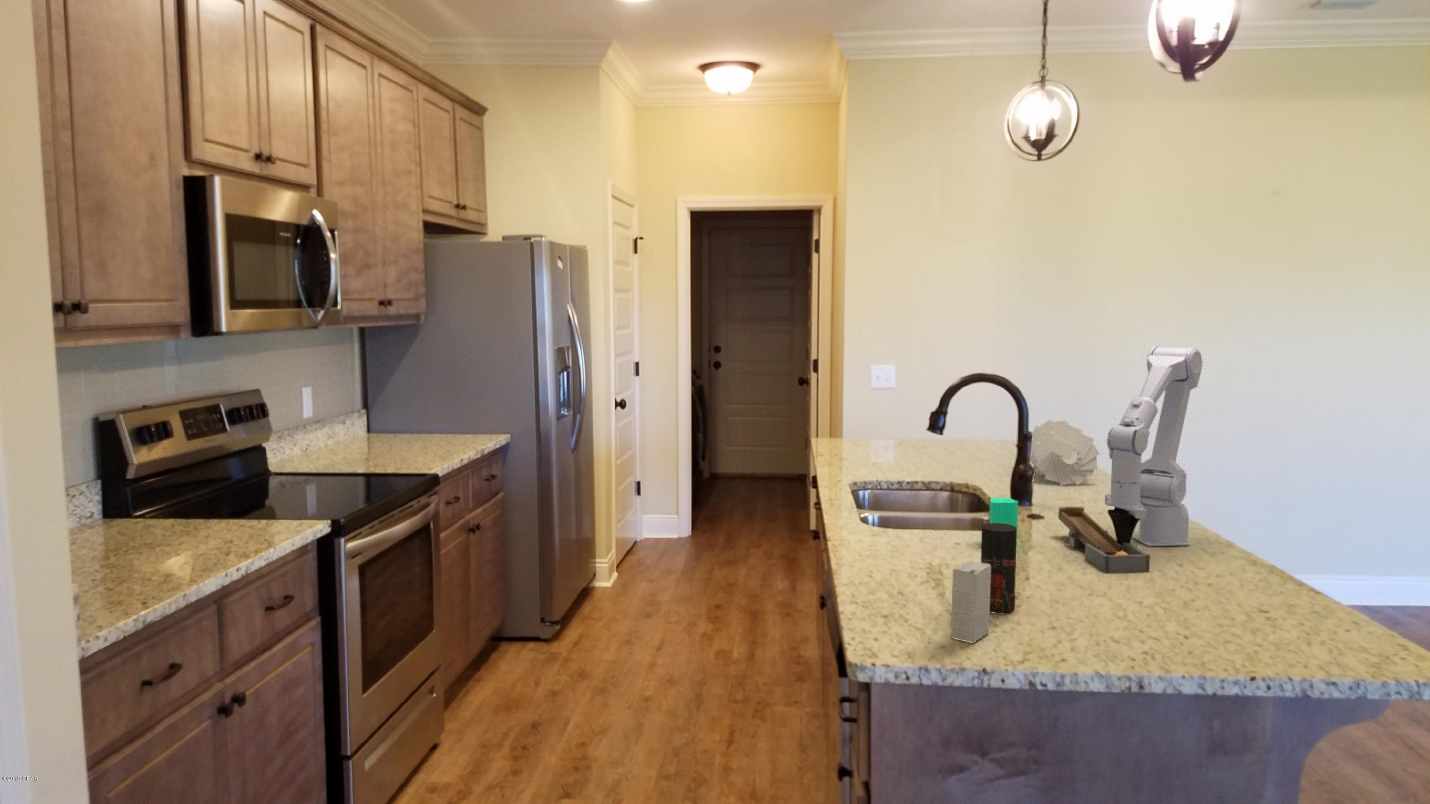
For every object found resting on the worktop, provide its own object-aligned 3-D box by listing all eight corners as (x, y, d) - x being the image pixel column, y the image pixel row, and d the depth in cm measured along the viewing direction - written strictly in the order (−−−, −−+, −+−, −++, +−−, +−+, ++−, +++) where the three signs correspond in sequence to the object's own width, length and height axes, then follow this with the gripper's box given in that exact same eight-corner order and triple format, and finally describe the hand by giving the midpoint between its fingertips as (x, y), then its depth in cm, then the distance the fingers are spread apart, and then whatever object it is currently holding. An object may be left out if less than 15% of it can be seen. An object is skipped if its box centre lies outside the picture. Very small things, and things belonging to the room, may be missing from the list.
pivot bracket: (1102, 544, 202) (1103, 527, 202) (1111, 549, 198) (1112, 532, 197) (1064, 545, 202) (1065, 528, 201) (1073, 550, 198) (1073, 533, 197)
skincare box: (965, 628, 153) (966, 559, 151) (990, 634, 150) (992, 563, 149) (949, 639, 148) (950, 567, 147) (975, 645, 145) (976, 572, 144)
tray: (1126, 557, 191) (1127, 542, 191) (1149, 571, 182) (1149, 555, 182) (1084, 558, 191) (1085, 543, 191) (1105, 572, 182) (1105, 556, 181)
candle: (1018, 549, 199) (1019, 496, 197) (990, 548, 200) (991, 495, 199) (1015, 542, 205) (1016, 490, 203) (987, 541, 206) (988, 490, 204)
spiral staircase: (1063, 484, 284) (1085, 498, 259) (1011, 460, 285) (1028, 471, 261) (1090, 432, 282) (1115, 441, 257) (1037, 408, 283) (1057, 415, 258)
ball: (1131, 550, 183) (1134, 566, 182) (1124, 552, 186) (1127, 567, 185) (1116, 550, 183) (1118, 566, 182) (1109, 552, 186) (1111, 568, 185)
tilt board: (1100, 517, 209) (1101, 505, 209) (1142, 554, 190) (1144, 542, 189) (1058, 518, 209) (1059, 506, 208) (1095, 555, 190) (1097, 543, 189)
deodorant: (976, 602, 165) (978, 523, 164) (1009, 602, 165) (1011, 522, 163) (985, 614, 159) (986, 531, 158) (1019, 614, 159) (1021, 531, 157)
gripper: (1092, 475, 199) (1090, 535, 201) (1123, 488, 185) (1121, 553, 186) (1123, 474, 199) (1121, 534, 201) (1157, 488, 185) (1154, 552, 187)
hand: (1123, 543), depth 194 cm, fingers closed
